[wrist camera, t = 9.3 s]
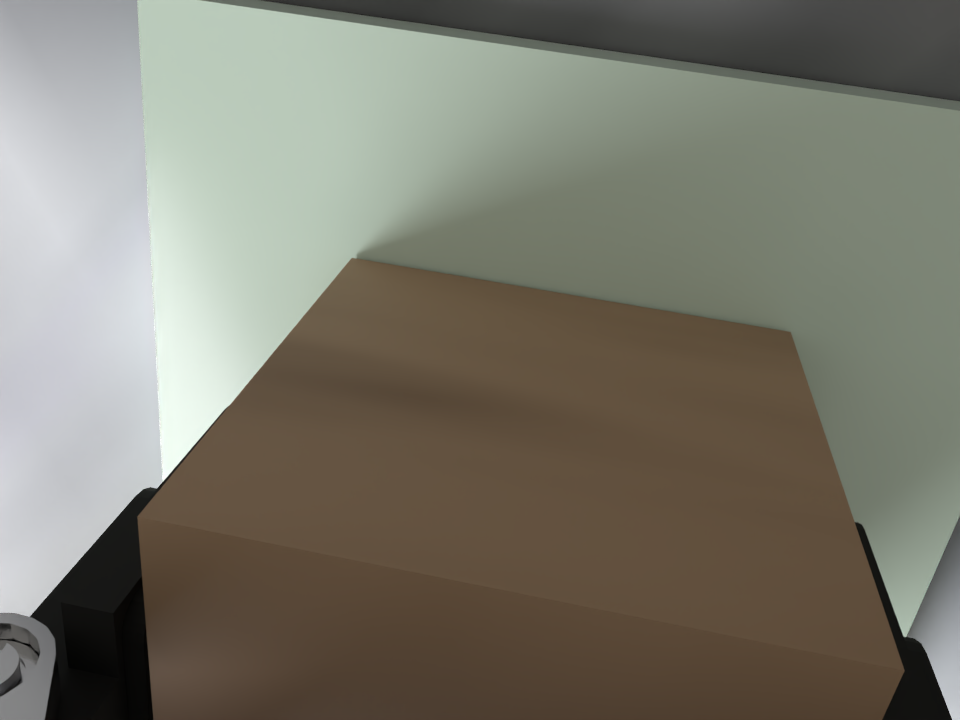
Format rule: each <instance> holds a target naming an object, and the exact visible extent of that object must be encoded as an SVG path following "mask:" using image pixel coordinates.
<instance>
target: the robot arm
mask: <svg viewBox="0 0 960 720" xmlns="http://www.w3.org/2000/svg"><path fill="white" fill-rule="evenodd" d="M228 407H229V406H228ZM228 407H227V408H228ZM227 408H226V409H227ZM226 409H225V410H226ZM225 410H224V411H225ZM224 411H223V412H222V413H221V414H220V415H219V417H220V416H221V415H222V414H223V413H224ZM219 417H218V418H217V419H216V420H215V421H214V423H213V424H212V425H211V426H210V427H209V428H208V430H207V431H206V432H205V433H204V434H203V435H202V437H201V438H200V439H199V440H198V441H197V442H196V444H195V445H194V446H193V447H192V448H191V450H190V451H189V452H188V453H187V454H186V455H185V457H184V458H183V459H182V460H181V461H180V462H179V464H178V465H177V466H176V467H175V468H174V469H173V471H172V472H171V473H170V474H169V475H168V477H167V478H166V479H165V480H164V481H163V482H162V484H161V485H160V486H159V487H158V488H157V489H156V488H151V487H150V488H147V489H143V490H142V491H141V492H140V493H139V494H138V495H136V496H135V498H134V499H133V500H132V501H131V502H130V503H129V504H128V506H127V507H126V508H125V509H124V510H123V511H122V512H121V513H120V515H119V516H118V517H117V518H116V519H115V520H114V521H113V523H112V524H111V525H110V526H109V527H108V528H107V529H106V531H105V532H104V533H103V534H102V535H101V536H100V537H99V539H98V540H97V541H96V542H95V543H94V544H93V545H92V547H91V548H90V549H89V550H88V551H87V552H86V553H85V555H84V556H83V557H82V558H81V559H80V560H79V561H78V562H77V564H76V565H75V566H74V567H73V568H72V569H71V570H70V572H69V573H68V574H67V575H66V576H65V577H64V578H63V580H62V581H61V582H60V583H59V584H58V585H57V586H56V588H55V589H54V590H53V591H52V592H51V593H50V594H49V596H48V597H47V598H46V599H45V600H44V601H43V602H42V604H41V605H40V606H39V607H38V608H37V609H36V610H35V611H34V613H33V614H32V615H31V616H30V617H28V616H24V615H20V614H16V613H0V720H153V708H152V696H151V683H150V670H149V658H148V645H147V632H146V620H145V607H144V594H143V582H142V569H141V556H140V544H139V531H138V519H137V516H138V515H139V514H140V513H141V512H142V510H143V509H144V508H145V507H146V506H147V504H148V503H149V502H150V501H151V500H152V498H153V497H154V496H155V495H156V494H157V492H158V491H159V490H160V489H161V488H162V486H163V485H164V484H165V483H166V481H167V480H168V479H169V478H170V477H171V475H172V474H173V473H174V472H175V471H176V469H177V468H178V467H179V466H180V465H181V463H182V462H183V461H184V460H185V459H186V457H187V456H188V455H189V454H190V453H191V451H192V450H193V449H194V448H195V446H196V445H197V444H198V443H199V442H200V440H201V439H202V438H203V437H204V436H205V434H206V433H207V432H208V431H209V430H210V428H211V427H212V426H213V425H214V424H215V422H216V421H217V420H218V419H219ZM855 525H856V528H857V531H858V534H859V537H860V540H861V543H862V545H863V548H864V551H865V554H866V557H867V560H868V563H869V566H870V569H871V572H872V575H873V578H874V581H875V584H876V587H877V590H878V593H879V596H880V599H881V602H882V605H883V608H884V611H885V614H886V617H887V620H888V623H889V626H890V629H891V632H892V635H893V638H894V641H895V644H896V647H897V650H898V653H899V656H900V658H901V661H902V664H903V667H904V670H905V671H904V673H903V675H902V678H901V680H900V682H899V684H898V686H897V688H896V691H895V693H894V695H893V697H892V699H891V702H890V704H889V706H888V708H887V710H886V712H885V715H884V717H883V719H882V720H952V718H951V716H950V713H949V711H948V708H947V705H946V703H945V700H944V698H943V695H942V692H941V690H940V687H939V685H938V682H937V679H936V677H935V674H934V672H933V669H932V666H931V664H930V661H929V659H928V656H927V653H926V652H925V650H924V648H923V646H922V644H921V643H920V642H918V641H917V640H916V639H913V638H908V637H903V634H902V631H901V628H900V626H899V623H898V620H897V617H896V615H895V612H894V609H893V606H892V604H891V601H890V598H889V595H888V592H887V590H886V587H885V584H884V581H883V579H882V576H881V573H880V570H879V568H878V565H877V562H876V559H875V557H874V554H873V551H872V548H871V546H870V543H869V540H868V537H867V534H866V532H865V529H864V527H863V525H862V524H860V523H858V522H855Z"/></svg>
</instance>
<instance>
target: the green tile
mask: <svg viewBox="0 0 960 720" xmlns="http://www.w3.org/2000/svg"><path fill="white" fill-rule="evenodd" d="M137 5H138V24H139V43H140V62H141V81H142V99H143V118H144V137H145V156H146V175H147V194H148V213H149V232H150V251H151V270H152V289H153V308H154V326H155V345H156V364H157V383H158V402H159V421H160V440H161V459H162V478H163V481H164V480H165V479H166V478H167V477H168V475H169V474H170V473H171V472H172V471H173V469H174V468H175V467H176V466H177V465H178V464H179V462H180V461H181V460H182V459H183V458H184V457H185V455H186V454H187V453H188V452H189V451H190V450H191V448H192V447H193V446H194V445H195V444H196V442H197V441H198V440H199V439H200V438H201V437H202V435H203V434H204V433H205V432H206V431H207V430H208V428H209V427H210V426H211V425H212V424H213V423H214V421H215V420H216V419H217V418H218V417H219V415H220V414H221V413H222V412H223V411H224V410H225V409H226V408H227V407H228V406H229V405H230V404H231V403H232V402H233V401H234V399H235V398H236V397H237V396H238V395H239V393H240V392H241V391H242V390H243V389H244V387H245V386H246V385H247V384H248V382H249V381H250V380H251V379H252V378H253V376H254V375H255V374H256V373H257V372H258V370H259V369H260V368H261V367H262V366H263V364H264V363H265V362H266V361H267V360H268V358H269V357H270V356H271V355H272V354H273V352H274V351H275V350H276V349H277V347H278V346H279V345H280V344H281V343H282V341H283V340H284V339H285V338H286V337H287V335H288V334H289V333H290V332H291V331H292V329H293V328H294V327H295V326H296V325H297V323H298V322H299V321H300V320H301V318H302V317H303V316H304V315H305V314H306V312H307V311H308V310H309V309H310V308H311V306H312V305H313V304H314V303H315V302H316V300H317V299H318V298H319V297H320V296H321V294H322V293H323V292H324V291H325V290H326V288H327V287H328V286H329V285H330V283H331V282H332V281H333V280H334V279H335V277H336V276H337V275H338V274H339V273H340V271H341V270H342V269H343V268H344V267H345V265H346V264H347V263H348V262H349V261H350V259H351V258H356V259H362V260H368V261H374V262H380V263H386V264H392V265H398V266H404V267H410V268H416V269H421V270H427V271H433V272H439V273H445V274H451V275H457V276H463V277H469V278H475V279H481V280H486V281H492V282H498V283H504V284H510V285H516V286H522V287H528V288H534V289H540V290H546V291H552V292H557V293H563V294H569V295H575V296H581V297H587V298H593V299H599V300H605V301H611V302H617V303H622V304H628V305H634V306H640V307H646V308H652V309H658V310H664V311H670V312H676V313H682V314H688V315H693V316H699V317H705V318H711V319H717V320H723V321H729V322H735V323H741V324H747V325H753V326H758V327H764V328H770V329H776V330H782V331H788V332H791V334H792V337H793V340H794V343H795V346H796V349H797V352H798V355H799V358H800V361H801V364H802V367H803V370H804V373H805V376H806V379H807V382H808V385H809V388H810V391H811V394H812V397H813V400H814V403H815V406H816V409H817V412H818V415H819V418H820V421H821V424H822V427H823V430H824V432H825V435H826V438H827V441H828V444H829V447H830V450H831V453H832V456H833V459H834V462H835V465H836V468H837V471H838V474H839V477H840V480H841V483H842V486H843V489H844V492H845V495H846V498H847V501H848V504H849V507H850V510H851V513H852V516H853V519H854V522H858V523H860V524H862V525H863V527H864V529H865V532H866V534H867V537H868V540H869V543H870V546H871V548H872V551H873V554H874V557H875V559H876V562H877V565H878V568H879V570H880V573H881V576H882V579H883V581H884V584H885V587H886V590H887V592H888V595H889V598H890V601H891V604H892V606H893V609H894V612H895V615H896V617H897V620H898V623H899V626H900V628H901V631H902V634H903V637H907V634H908V632H909V630H910V627H911V625H912V623H913V621H914V618H915V616H916V614H917V612H918V609H919V607H920V605H921V603H922V600H923V598H924V596H925V593H926V591H927V589H928V587H929V584H930V582H931V580H932V578H933V575H934V573H935V571H936V568H937V566H938V564H939V562H940V559H941V557H942V555H943V553H944V550H945V548H946V546H947V544H948V541H949V539H950V537H951V534H952V532H953V530H954V528H955V525H956V523H957V521H958V519H959V516H960V101H953V100H946V99H939V98H932V97H926V96H919V95H912V94H905V93H898V92H891V91H884V90H877V89H870V88H863V87H856V86H849V85H843V84H836V83H829V82H822V81H815V80H808V79H801V78H794V77H787V76H780V75H773V74H766V73H760V72H753V71H746V70H739V69H732V68H725V67H718V66H711V65H704V64H697V63H690V62H683V61H676V60H670V59H663V58H656V57H649V56H642V55H635V54H628V53H621V52H614V51H607V50H600V49H593V48H587V47H580V46H573V45H566V44H559V43H552V42H545V41H538V40H531V39H524V38H517V37H510V36H504V35H497V34H490V33H483V32H476V31H469V30H462V29H455V28H448V27H441V26H434V25H427V24H420V23H414V22H407V21H400V20H393V19H386V18H379V17H372V16H365V15H358V14H351V13H344V12H337V11H331V10H324V9H317V8H310V7H303V6H296V5H289V4H282V3H275V2H268V1H261V0H137Z"/></svg>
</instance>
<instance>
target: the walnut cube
mask: <svg viewBox="0 0 960 720" xmlns="http://www.w3.org/2000/svg"><path fill="white" fill-rule="evenodd" d="M137 519H138V531H139V544H140V556H141V569H142V582H143V594H144V607H145V620H146V632H147V645H148V658H149V670H150V683H151V696H152V708H153V720H882V719H883V717H884V715H885V712H886V710H887V708H888V706H889V704H890V702H891V699H892V697H893V695H894V693H895V691H896V688H897V686H898V684H899V682H900V680H901V678H902V675H903V673H904V671H905V670H904V667H903V664H902V661H901V658H900V656H899V653H898V650H897V647H896V644H895V641H894V638H893V635H892V632H891V629H890V626H889V623H888V620H887V617H886V614H885V611H884V608H883V605H882V602H881V599H880V596H879V593H878V590H877V587H876V584H875V581H874V578H873V575H872V572H871V569H870V566H869V563H868V560H867V557H866V554H865V551H864V548H863V545H862V543H861V540H860V537H859V534H858V531H857V528H856V525H855V522H854V519H853V516H852V513H851V510H850V507H849V504H848V501H847V498H846V495H845V492H844V489H843V486H842V483H841V480H840V477H839V474H838V471H837V468H836V465H835V462H834V459H833V456H832V453H831V450H830V447H829V444H828V441H827V438H826V435H825V432H824V430H823V427H822V424H821V421H820V418H819V415H818V412H817V409H816V406H815V403H814V400H813V397H812V394H811V391H810V388H809V385H808V382H807V379H806V376H805V373H804V370H803V367H802V364H801V361H800V358H799V355H798V352H797V349H796V346H795V343H794V340H793V337H792V334H791V332H788V331H782V330H776V329H770V328H764V327H758V326H753V325H747V324H741V323H735V322H729V321H723V320H717V319H711V318H705V317H699V316H693V315H688V314H682V313H676V312H670V311H664V310H658V309H652V308H646V307H640V306H634V305H628V304H622V303H617V302H611V301H605V300H599V299H593V298H587V297H581V296H575V295H569V294H563V293H557V292H552V291H546V290H540V289H534V288H528V287H522V286H516V285H510V284H504V283H498V282H492V281H486V280H481V279H475V278H469V277H463V276H457V275H451V274H445V273H439V272H433V271H427V270H421V269H416V268H410V267H404V266H398V265H392V264H386V263H380V262H374V261H368V260H362V259H356V258H351V259H350V261H349V262H348V263H347V264H346V265H345V267H344V268H343V269H342V270H341V271H340V273H339V274H338V275H337V276H336V277H335V279H334V280H333V281H332V282H331V283H330V285H329V286H328V287H327V288H326V290H325V291H324V292H323V293H322V294H321V296H320V297H319V298H318V299H317V300H316V302H315V303H314V304H313V305H312V306H311V308H310V309H309V310H308V311H307V312H306V314H305V315H304V316H303V317H302V318H301V320H300V321H299V322H298V323H297V325H296V326H295V327H294V328H293V329H292V331H291V332H290V333H289V334H288V335H287V337H286V338H285V339H284V340H283V341H282V343H281V344H280V345H279V346H278V347H277V349H276V350H275V351H274V352H273V354H272V355H271V356H270V357H269V358H268V360H267V361H266V362H265V363H264V364H263V366H262V367H261V368H260V369H259V370H258V372H257V373H256V374H255V375H254V376H253V378H252V379H251V380H250V381H249V382H248V384H247V385H246V386H245V387H244V389H243V390H242V391H241V392H240V393H239V395H238V396H237V397H236V398H235V399H234V401H233V402H232V403H231V404H230V405H229V407H228V408H227V409H226V410H225V411H224V413H223V414H222V415H221V416H220V417H219V419H218V420H217V421H216V422H215V424H214V425H213V426H212V427H211V428H210V430H209V431H208V432H207V433H206V434H205V436H204V437H203V438H202V439H201V440H200V442H199V443H198V444H197V445H196V446H195V448H194V449H193V450H192V451H191V453H190V454H189V455H188V456H187V457H186V459H185V460H184V461H183V462H182V463H181V465H180V466H179V467H178V468H177V469H176V471H175V472H174V473H173V474H172V475H171V477H170V478H169V479H168V480H167V481H166V483H165V484H164V485H163V486H162V488H161V489H160V490H159V491H158V492H157V494H156V495H155V496H154V497H153V498H152V500H151V501H150V502H149V503H148V504H147V506H146V507H145V508H144V509H143V510H142V512H141V513H140V514H139V515H138V516H137Z"/></svg>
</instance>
